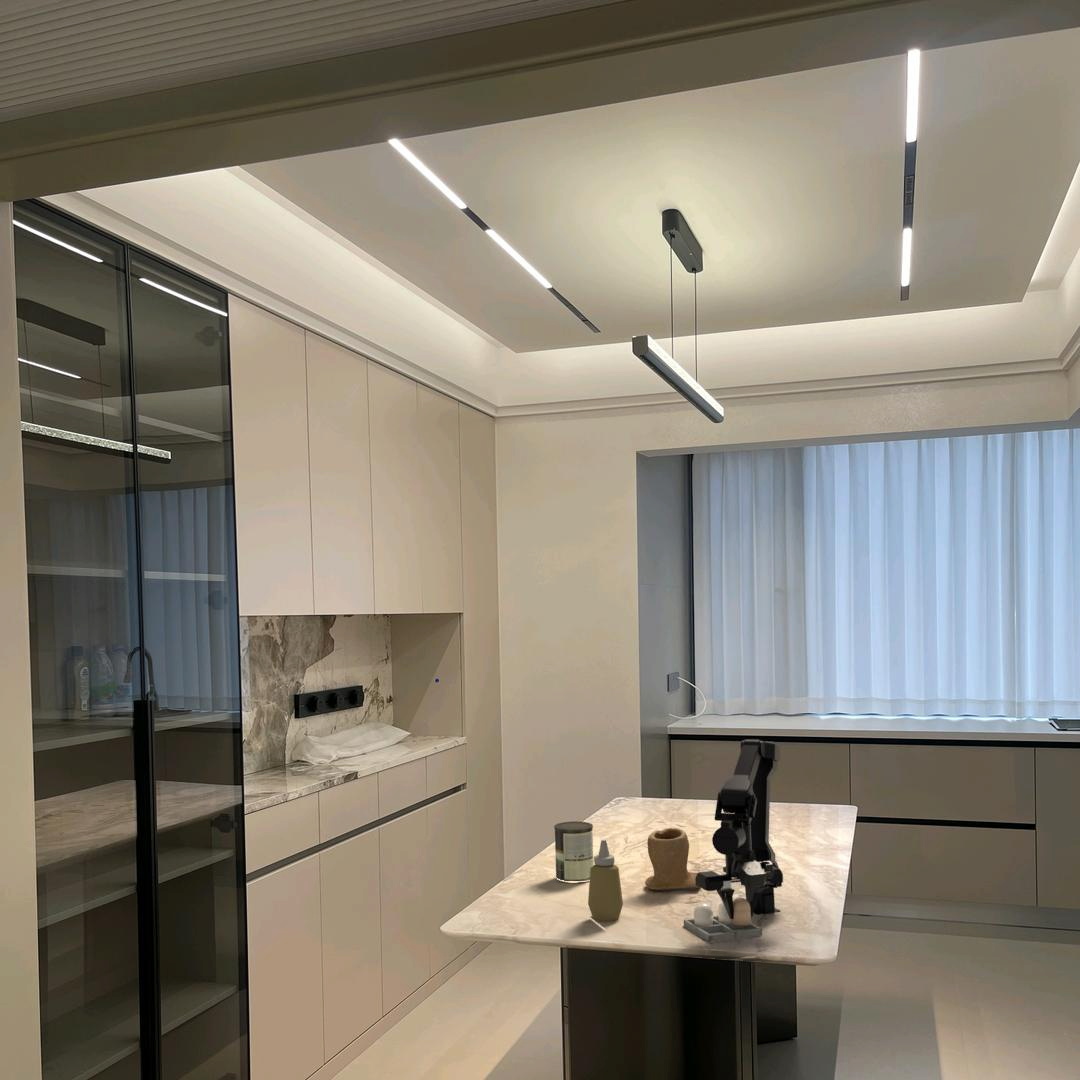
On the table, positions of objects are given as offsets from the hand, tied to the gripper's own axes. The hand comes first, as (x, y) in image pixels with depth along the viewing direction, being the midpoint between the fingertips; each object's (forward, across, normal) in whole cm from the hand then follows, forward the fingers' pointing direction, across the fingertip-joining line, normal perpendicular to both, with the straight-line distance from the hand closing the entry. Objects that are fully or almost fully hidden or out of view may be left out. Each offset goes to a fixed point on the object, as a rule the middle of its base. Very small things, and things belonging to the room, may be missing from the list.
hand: (740, 917), depth 232 cm
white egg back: (+3, -6, +6) cm, 9 cm away
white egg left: (+3, 0, +6) cm, 7 cm away
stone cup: (+4, +3, +40) cm, 40 cm away
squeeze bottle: (+4, -23, +22) cm, 32 cm away
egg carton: (+4, -3, +3) cm, 6 cm away
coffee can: (+4, -17, +60) cm, 62 cm away
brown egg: (+1, 0, 0) cm, 1 cm away
